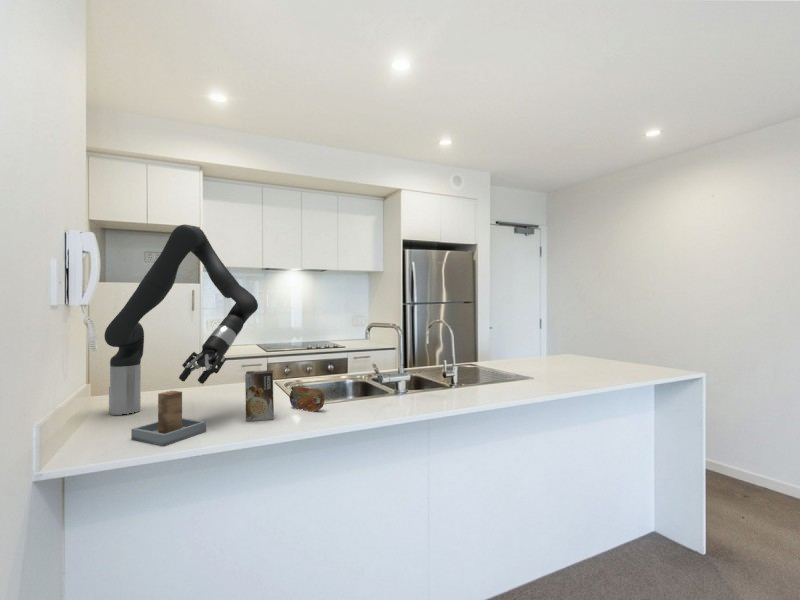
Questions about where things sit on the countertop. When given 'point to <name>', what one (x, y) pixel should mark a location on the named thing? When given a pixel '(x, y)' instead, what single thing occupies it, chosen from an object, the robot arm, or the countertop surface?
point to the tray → (152, 436)
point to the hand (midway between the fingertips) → (190, 381)
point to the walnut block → (169, 411)
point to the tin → (307, 398)
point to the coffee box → (259, 395)
